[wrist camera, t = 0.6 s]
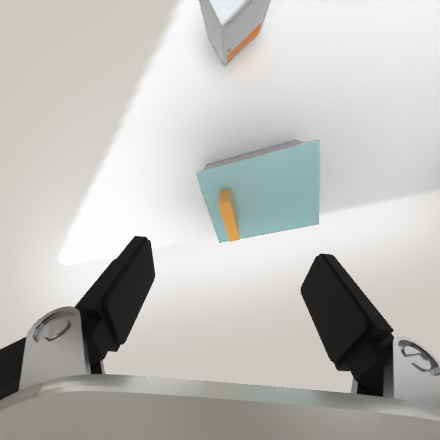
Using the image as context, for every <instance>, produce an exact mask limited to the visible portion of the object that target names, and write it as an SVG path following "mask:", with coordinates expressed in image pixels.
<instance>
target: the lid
mask: <svg viewBox="0 0 440 440" xmlns="http://www.w3.org/2000/svg"><path fill="white" fill-rule="evenodd" d="M196 175H197V178H198V181H199V184H200V187H201V190H202V193H203V195H204V198H205V201H206V204H207V207H208V210H209V213H210V216H211V219H212V222H213V225H214V228H215V231H216V234H217V237H218V240H219V242H220V243H221V242H226V241H235V240H239V239H242V238H247V237H253V236H258V235H263V234H269V233H274V232H279V231H284V230H290V229H295V228H301V227H306V226H311V225H317V224H319V140H314V141H310V142H307V143H303V144H299V145H295V146H292V147H288V148H284V149H281V150H277V151H273V152H270V153H266V154H262V155H258V156H255V157H251V158H247V159H244V160H240V161H236V162H233V163H229V164H225V165H222V166H218V167H214V168H210V169H207V170H203V171H199V172H197V173H196Z"/></svg>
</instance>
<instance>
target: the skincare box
mask: <svg viewBox="0 0 440 440" xmlns="http://www.w3.org/2000/svg"><path fill="white" fill-rule="evenodd" d="M270 1H271V0H199V2H200V6H201V10H202V15H203V19H204V23H205V27H206V31H207V35H208V37H209V38H210V40H211V42H212V44H213V46H214V48H215V50H216V52H217V54H218V55H219V57H220V59H221V61H222V63H223V65H224V66H225V65H226V64H227V63H228V62H229V61H230V60H231V59H232V58H233V57H234V56H235V55H236V54H237V53H238V52H239V51H240V50H241V49H242V48H243V47H245V46H246V45H247V44H248V43H249V42H250V41H251V40H252V39H254V38H255V37H256V36H257V35H258V34H259V33H260V30H261V27H262V24H263V21H264V18H265V15H266V13H267V10H268V7H269V4H270Z"/></svg>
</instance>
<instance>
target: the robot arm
mask: <svg viewBox="0 0 440 440" xmlns="http://www.w3.org/2000/svg"><path fill="white" fill-rule="evenodd" d="M154 278H155V270H154V263H153V256H152V248H151V242H150V240H148V239H147V237H140V236H135V237H134V238H133V239H132V240H131V242H130V243H129V244H128V245H127V246H126V248H125V249H124V250H123V251H122V253H121V254H120V255H119V256H118V258H117V259H115V260H113V261H112V262H111V264H110V265H109V266H108V267H107V269H106V270H105V271H104V272H103V273H102V274H101V276H100V277H99V278H98V280H97V281H96V282H95V283H94V284H93V285H92V287H91V288H90V289H89V290H88V291H87V293H86V294H85V295H84V297H83V298H82V299H81V300H80V301H79V302H78V304H77V305H76V306H75V307H70V306H69V307H62V308H59V309H56V310H53V311H51V312H49V313H47V314H46V315H45V316H43V317H42V318H40V319H39V320H38V321H37V322H36V323H35V324H34V325H33V326H32V328H31V329H30V330H29V332H28V335H27V337H25V338H23V339H21V340H19V341H17V342H15V343H13V344H11V345H9V346H7V347H5V348H3V349H0V440H440V361H439V360H438V359H437V358H436V357H435V356H434V355H433V354H432V353H431V352H430V351H429V350H428V349H427V348H425V347H424V346H423V345H421V344H420V343H418V342H417V341H415V340H413V339H411V338H409V337H405V336H396V337H394V336H393V335H392V334H391V332H393V331H394V330H393V329H392V328H391V326H390V325H389V324H388V323H387V321H386V320H385V319H384V318H383V316H382V315H381V314H380V313H379V311H378V310H377V309H376V308H375V307H374V305H373V304H372V303H371V302H370V301H369V299H368V298H367V297H366V295H365V294H364V293H363V292H362V290H361V289H360V288H359V287H358V285H357V284H356V283H355V282H354V280H353V279H352V278H351V277H350V275H349V274H348V273H347V272H346V270H345V269H344V268H343V267H342V266H341V264H340V263H339V262H338V261H337V259H336V258H335V257H334V256H333V255H330V254H320V255H319V256H317V257H316V258H315V260H314V262H313V264H312V266H311V268H310V270H309V272H308V274H307V276H306V278H305V280H304V282H303V284H302V286H301V294H302V297H303V299H304V301H305V304H306V306H307V308H308V310H309V313H310V315H311V317H312V320H313V322H314V324H315V326H316V329H317V331H318V333H319V336H320V338H321V340H322V343H323V345H324V347H325V350H326V352H327V354H328V357H329V358H330V360H331V361H332V362H334V364H335V367H336V369H337V370H339V371H351V373H352V375H353V382H352V389H351V393H340V392H329V391H318V390H306V389H295V388H284V387H272V386H260V385H248V384H247V385H246V384H235V383H222V382H210V381H198V380H197V381H196V380H184V379H172V378H159V377H145V376H127V375H109V374H108V375H107V374H105V372H104V365H103V359H104V358H105V356H106V354H107V352H108V351H114V352H117V351H118V349H119V347H120V345H121V344H124V343H125V341H126V340H127V337H128V335H129V333H130V331H131V329H132V326H133V324H134V322H135V320H136V318H137V316H138V313H139V312H140V309H141V307H142V305H143V303H144V301H145V299H146V296H147V294H148V292H149V290H150V288H151V285H152V283H153V281H154Z"/></svg>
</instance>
